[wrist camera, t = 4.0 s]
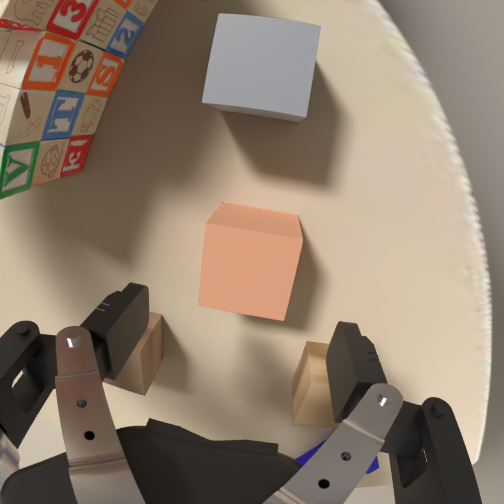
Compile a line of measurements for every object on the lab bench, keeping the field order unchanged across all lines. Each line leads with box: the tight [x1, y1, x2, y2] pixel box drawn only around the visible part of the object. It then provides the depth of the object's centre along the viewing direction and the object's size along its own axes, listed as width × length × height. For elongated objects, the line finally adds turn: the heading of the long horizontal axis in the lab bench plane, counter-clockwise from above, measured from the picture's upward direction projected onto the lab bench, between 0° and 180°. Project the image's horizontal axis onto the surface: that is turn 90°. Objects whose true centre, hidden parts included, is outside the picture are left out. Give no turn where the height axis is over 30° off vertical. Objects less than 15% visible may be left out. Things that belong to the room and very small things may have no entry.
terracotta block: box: [198, 202, 303, 321], centre depth 18 cm, size 5×5×5 cm
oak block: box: [292, 341, 341, 427], centre depth 22 cm, size 5×5×5 cm
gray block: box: [202, 13, 321, 123], centre depth 14 cm, size 5×5×5 cm
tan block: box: [103, 312, 163, 396], centre depth 22 cm, size 5×5×5 cm
